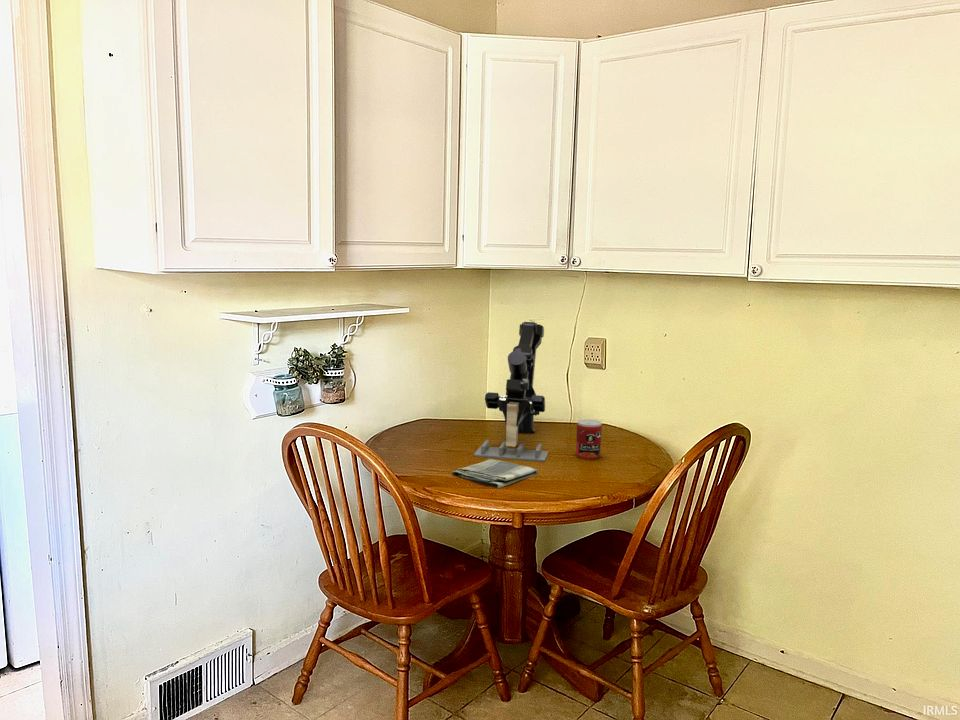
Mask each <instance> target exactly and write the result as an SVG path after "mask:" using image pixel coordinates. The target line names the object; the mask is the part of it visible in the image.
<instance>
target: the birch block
mask: <svg viewBox="0 0 960 720" xmlns="http://www.w3.org/2000/svg"><path fill="white" fill-rule="evenodd" d="M518 414H519V403H518V402H509V403H508V404H507V425H505V426H506V431H505V432H506V433H505V434H506V435H505V441H506V447H513V448H514V447H516V446H517V445H518V441H519V432H518V426H517V425H516V424H517V418H518Z"/></svg>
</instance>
